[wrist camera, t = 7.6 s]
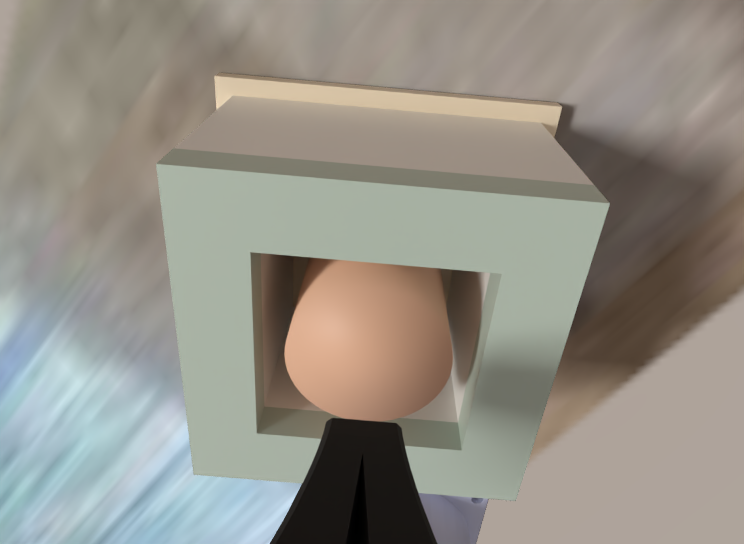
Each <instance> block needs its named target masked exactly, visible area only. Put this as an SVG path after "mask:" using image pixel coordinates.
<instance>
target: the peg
mask: <svg viewBox="0 0 744 544" xmlns="http://www.w3.org/2000/svg"><path fill="white" fill-rule="evenodd" d="M284 355H285V363H286V367H287V371H288V373H289V376H290V378H291V380H292V382H293V383H294V385H295V386H296V388H297V389H298V390H299V391H300V393H301V394H302V395H303V396H304V397H305V398H306V399H308V400H309V401H310V402H311V403H313V404H314V405H315V406H317V407H319V408H320V409H322V410H324V411H326V412H328V413H330V414H333V415H335V416H338V417H341V418H345V419H355V420H367V421H388V420H394V419H397V418H401V417H404V416H407V415H409V414H412V413H414V412H416V411H418V410H420V409H421V408H423V407H424V406H426V405H427V404H429V403H430V402H431V401H432V400H433V399H434V398H436V396H437V395H438V394H439V393H440V392H441V391H442V389H443V388H444V386H445V385H446V383H447V381H448V378H449V376H450V373H451V369H452V364H453V350H452V343H451V336H450V329H449V322H448V315H447V308H446V302H445V295H444V288H443V281H442V274H441V269H440V268H428V267H417V266H405V265H393V264H382V263H370V262H358V261H347V260H335V259H323V258H312V257H309V260H308V264H307V267H306V271H305V274H304V278H303V282H302V285H301V289H300V292H299V296H298V299H297V303H296V307H295V310H294V314H293V317H292V321H291V324H290V328H289V332H288V335H287V339H286V343H285V353H284Z"/></svg>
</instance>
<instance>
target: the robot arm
mask: <svg viewBox="0 0 744 544" xmlns="http://www.w3.org/2000/svg"><path fill="white" fill-rule="evenodd" d="M487 503H488V499H485V498H473V497H461V496H449V495H437V494H424V493H418V490H417V487H416V484H415V481H414V478H413V475H412V471H411V468H410V464H409V461H408V457H407V453H406V449H405V444H404V440H403V434H402V428H401V427H400V426H399V425H398V424H397V423H391V422H379V421H367V420H355V419H343V418H331V419H330V420H328V421H326V424H325V428H324V432H323V435H322V438H321V441H320V444H319V447H318V449H317V452H316V454H315V457H314V459H313V462H312V464H311V466H310V468H309V471H308V473H307V475H306V477H305V479H304V481H303V483H302V485H301V487H300V489H299V491H298V493H297V495H296V497H295V499H294V501H293V503H292V505H291V507H290V509H289V511H288V513H287V515H286V517H285V518H284V520H283V522H282V524H281V525H280V527H279V529H278V531H277V532H276V534H275V536H274V537H273V539H272V541H271V542H270V544H476V542H477V538H478V535H479V531H480V528H481V524H482V521H483V517H484V514H485V510H486V506H487Z"/></svg>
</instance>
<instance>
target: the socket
mask: <svg viewBox="0 0 744 544" xmlns="http://www.w3.org/2000/svg"><path fill="white" fill-rule="evenodd" d="M215 92H216V108H217V110H216V111H215V112H214V113H213V114H211V115H210V116H209V117H208V118H207V119H206V120H205V121H204V122H202V123H201V124H200V125H199V126H198V127H197V128H196V129H195V130H194V131H192V132H191V133H190V134H189V135H188V136H187V137H186V138H185V139H183V140H182V141H181V142H180V143H179V144H178V145H177V146H176V147H174V148H173V149H172V150H171V151H170V152H169V153H168V154H167V155H165V156H164V157H163V158H162V159H161V160H160V161H159V162H158V163H157V164H156V167H157V175H158V184H159V192H160V200H161V209H162V217H163V225H164V233H165V242H166V250H167V258H168V266H169V275H170V283H171V291H172V299H173V308H174V316H175V324H176V332H177V341H178V349H179V357H180V365H181V374H182V382H183V390H184V398H185V407H186V415H187V423H188V431H189V440H190V448H191V456H192V464H193V473H194V475H205V476H217V477H229V478H241V479H254V480H266V481H278V482H290V483H303V481H304V479H305V477H306V475H307V473H308V471H309V468H310V466H311V464H312V462H313V459H314V457H315V454H316V452H317V449H318V447H319V444H320V441H321V438H322V435H323V432H324V428H325V424H326V421H328V420H330V419H331V418H341V417H338V416H335V415H333V414H330V413H328V412H326V411H324V410H322V409H320V408H319V407H317V406H315V405H314V404H313V403H311V402H310V401H309V400H308V399H306V398H305V397H304V396H303V395H302V394H301V393H300V391H299V390H298V389H297V388H296V386H295V385H294V383H293V382H292V380H291V378H290V376H289V373H288V371H287V367H286V363H285V355H284V353H285V343H286V339H287V335H288V332H289V328H290V324H291V321H292V317H293V314H294V310H295V307H296V303H297V299H298V296H299V292H300V289H301V285H302V282H303V278H304V274H305V271H306V267H307V264H308V260H309V257H312V258H323V259H335V260H347V261H358V262H370V263H382V264H393V265H405V266H417V267H428V268H440V269H441V274H442V281H443V288H444V295H445V302H446V308H447V315H448V322H449V329H450V336H451V343H452V350H453V364H452V369H451V373H450V376H449V378H448V381H447V383H446V385H445V386H444V388H443V389H442V391H441V392H440V393H439V394H438V395H437V396H436V398H434V399H433V400H432V401H431V402H430V403H429V404H427V405H426V406H424V407H423V408H421V409H420V410H418V411H416V412H414V413H412V414H409V415H407V416H404V417H401V418H397V419H394V420H388V421H379V422H391V423H397V424H398V425H399V426H400V427H401V428H402V434H403V440H404V444H405V449H406V453H407V457H408V461H409V464H410V468H411V471H412V475H413V478H414V481H415V484H416V487H417V490H418V493H424V494H437V495H449V496H461V497H473V498H485V499H498V500H510V501H516V498H517V495H518V492H519V488H520V485H521V482H522V479H523V476H524V473H525V470H526V467H527V463H528V460H529V457H530V454H531V451H532V448H533V445H534V441H535V438H536V435H537V432H538V429H539V426H540V422H541V419H542V416H543V413H544V410H545V407H546V404H547V400H548V397H549V394H550V391H551V388H552V385H553V382H554V378H555V375H556V372H557V369H558V366H559V363H560V360H561V356H562V353H563V350H564V347H565V344H566V341H567V337H568V334H569V331H570V328H571V325H572V322H573V319H574V315H575V312H576V309H577V306H578V303H579V300H580V297H581V293H582V290H583V287H584V284H585V281H586V278H587V275H588V271H589V268H590V265H591V262H592V259H593V256H594V252H595V249H596V246H597V243H598V240H599V237H600V234H601V230H602V227H603V224H604V221H605V218H606V215H607V212H608V208H609V205H610V203H609V202H608V200H607V199H606V198H605V197H604V196H603V195H602V193H601V192H600V191H599V190H598V189H597V188H596V186H595V185H594V184H593V183H592V182H591V181H590V179H589V178H588V177H587V176H586V175H585V174H584V172H583V171H582V170H581V169H580V168H579V167H578V165H577V164H576V163H575V162H574V161H573V160H572V158H571V157H570V156H569V155H568V154H567V153H566V151H565V150H564V149H563V148H562V147H561V146H560V144H559V143H558V142H557V141H556V140H555V139H554V138H555V134H556V130H557V126H558V122H559V118H560V114H561V110H562V106H561V105H560V104H559V103H555V102H544V101H532V100H521V99H510V98H499V97H487V96H476V95H465V94H454V93H442V92H431V91H420V90H409V89H397V88H386V87H375V86H364V85H352V84H341V83H330V82H319V81H307V80H296V79H285V78H274V77H262V76H251V75H240V74H228V73H218V74H217V75H215ZM343 419H345V418H343Z"/></svg>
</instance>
